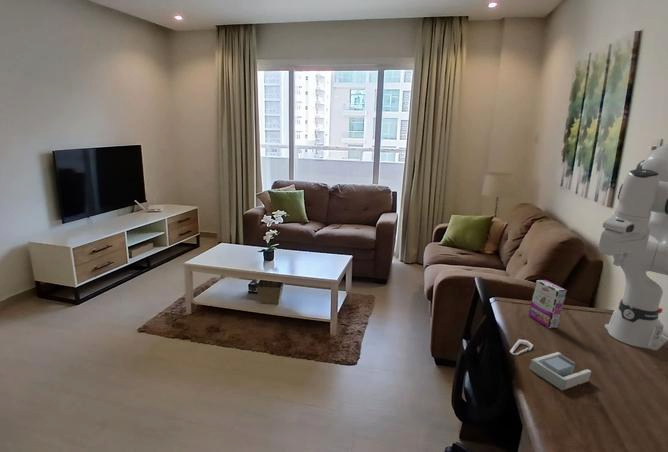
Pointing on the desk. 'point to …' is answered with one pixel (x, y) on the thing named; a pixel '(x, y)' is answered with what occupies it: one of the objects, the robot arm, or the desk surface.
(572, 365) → the grey-blue box
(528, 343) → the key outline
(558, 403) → the desk surface
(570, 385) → the bay
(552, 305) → the candy bar box
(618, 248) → the robot arm
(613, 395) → the desk surface
